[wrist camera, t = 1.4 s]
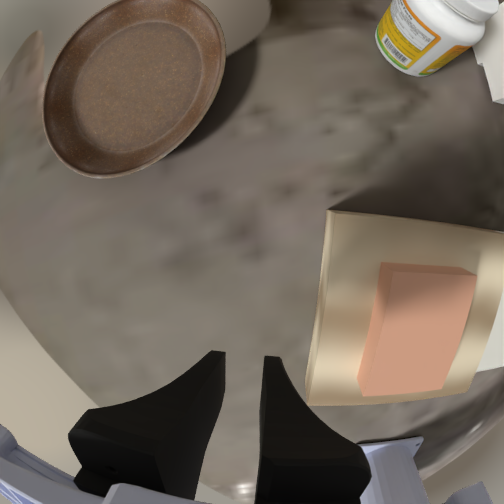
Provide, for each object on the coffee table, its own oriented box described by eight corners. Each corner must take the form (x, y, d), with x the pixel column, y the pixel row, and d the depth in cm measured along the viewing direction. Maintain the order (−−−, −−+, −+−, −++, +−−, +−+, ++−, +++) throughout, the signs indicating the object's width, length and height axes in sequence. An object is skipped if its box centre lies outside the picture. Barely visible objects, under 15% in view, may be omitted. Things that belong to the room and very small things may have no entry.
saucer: (273, 101, 17) (272, 88, 15) (102, 217, 20) (82, 221, 17) (177, -19, 15) (167, -36, 13) (45, 85, 18) (26, 79, 15)
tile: (430, 373, 17) (441, 389, 15) (356, 378, 17) (362, 396, 15) (460, 267, 15) (477, 275, 13) (381, 262, 16) (393, 271, 14)
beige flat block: (452, 373, 20) (466, 391, 17) (305, 380, 21) (307, 405, 18) (490, 229, 17) (513, 235, 14) (326, 209, 18) (335, 213, 15)
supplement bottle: (435, 33, 14) (496, -23, 5) (438, 88, 15) (518, 43, 6) (373, 11, 15) (414, -66, 5) (372, 65, 16) (430, -9, 6)
